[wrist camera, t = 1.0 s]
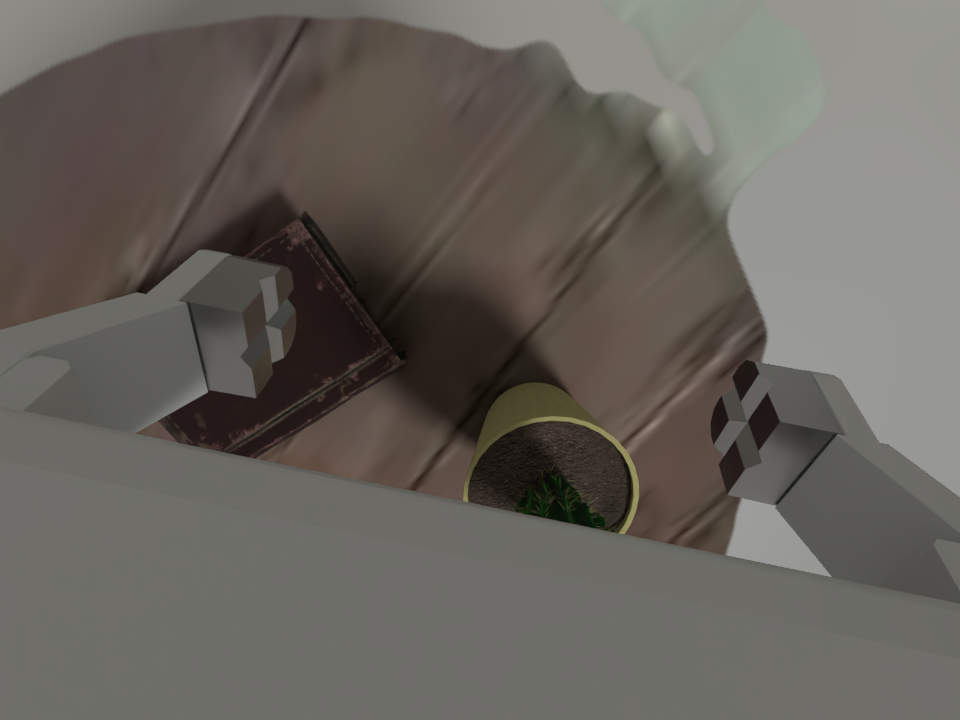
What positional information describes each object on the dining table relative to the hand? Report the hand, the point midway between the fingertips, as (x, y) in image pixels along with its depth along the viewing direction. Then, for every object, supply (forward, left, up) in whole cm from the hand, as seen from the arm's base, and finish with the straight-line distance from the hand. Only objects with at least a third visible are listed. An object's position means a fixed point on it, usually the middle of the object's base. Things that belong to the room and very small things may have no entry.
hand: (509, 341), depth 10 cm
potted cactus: (-22, -8, -47) cm, 53 cm away
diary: (-15, +22, -48) cm, 55 cm away
